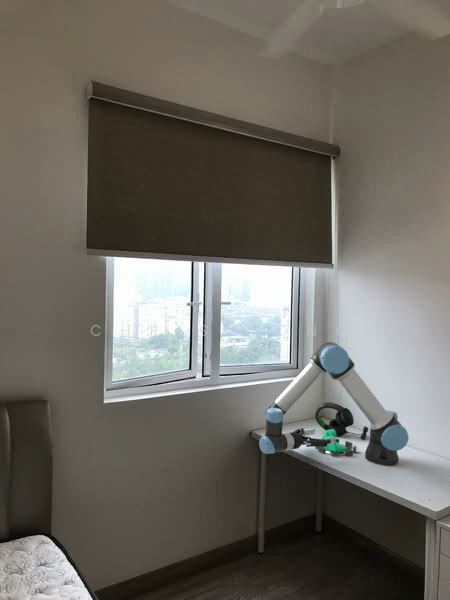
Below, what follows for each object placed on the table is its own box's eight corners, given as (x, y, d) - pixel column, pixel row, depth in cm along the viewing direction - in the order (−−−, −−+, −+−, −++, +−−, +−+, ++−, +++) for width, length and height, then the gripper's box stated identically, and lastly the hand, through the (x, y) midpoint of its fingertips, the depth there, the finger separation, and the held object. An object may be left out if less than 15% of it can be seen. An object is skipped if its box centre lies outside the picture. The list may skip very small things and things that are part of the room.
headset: (354, 454, 256) (308, 423, 262) (361, 437, 266) (315, 408, 272) (371, 435, 245) (322, 403, 251) (377, 418, 256) (329, 388, 262)
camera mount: (347, 453, 232) (348, 432, 231) (335, 455, 228) (336, 433, 228) (331, 445, 242) (332, 425, 242) (319, 446, 238) (320, 426, 238)
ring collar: (364, 453, 233) (364, 448, 233) (335, 459, 223) (335, 454, 223) (335, 441, 250) (335, 436, 249) (307, 446, 239) (307, 441, 239)
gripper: (273, 440, 232) (306, 435, 243) (307, 458, 210) (342, 451, 221) (273, 425, 231) (307, 420, 242) (308, 441, 210) (343, 435, 221)
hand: (324, 435), depth 232 cm, fingers open, 13 cm apart
